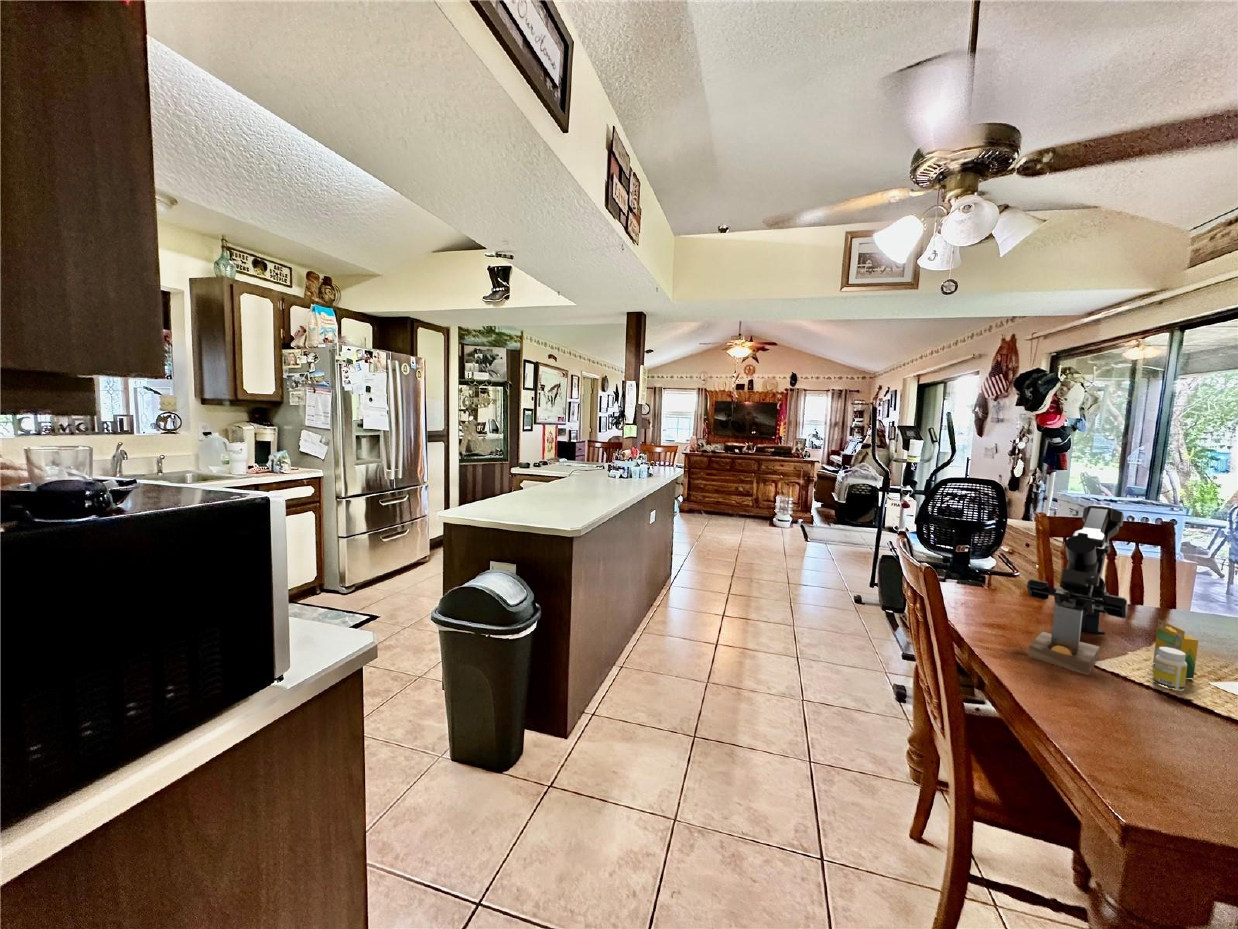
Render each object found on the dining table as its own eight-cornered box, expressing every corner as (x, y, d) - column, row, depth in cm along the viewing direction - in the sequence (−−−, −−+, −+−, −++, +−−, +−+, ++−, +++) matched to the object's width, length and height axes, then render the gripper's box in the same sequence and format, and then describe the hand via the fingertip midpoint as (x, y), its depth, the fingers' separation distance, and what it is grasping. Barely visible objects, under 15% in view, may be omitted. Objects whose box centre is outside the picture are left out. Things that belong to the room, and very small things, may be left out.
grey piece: (1052, 640, 124) (1056, 598, 123) (1079, 647, 120) (1083, 604, 119) (1050, 642, 122) (1054, 600, 121) (1077, 650, 118) (1081, 606, 117)
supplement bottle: (1174, 682, 110) (1178, 647, 109) (1190, 693, 105) (1195, 657, 105) (1147, 679, 111) (1151, 644, 111) (1162, 689, 107) (1166, 653, 106)
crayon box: (1194, 681, 111) (1200, 633, 110) (1178, 679, 111) (1184, 631, 110) (1167, 665, 118) (1172, 620, 117) (1152, 664, 118) (1157, 619, 117)
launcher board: (1041, 642, 130) (1042, 631, 129) (1098, 658, 121) (1099, 646, 121) (1028, 657, 121) (1029, 645, 121) (1088, 675, 112) (1089, 663, 112)
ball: (1046, 643, 120) (1045, 658, 121) (1062, 650, 116) (1061, 666, 117) (1060, 642, 121) (1059, 658, 121) (1077, 650, 117) (1075, 665, 117)
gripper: (1031, 549, 130) (1017, 597, 125) (1130, 566, 116) (1119, 621, 110) (1036, 572, 136) (1022, 619, 130) (1131, 591, 121) (1120, 644, 116)
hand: (1067, 625), depth 121 cm, fingers closed
